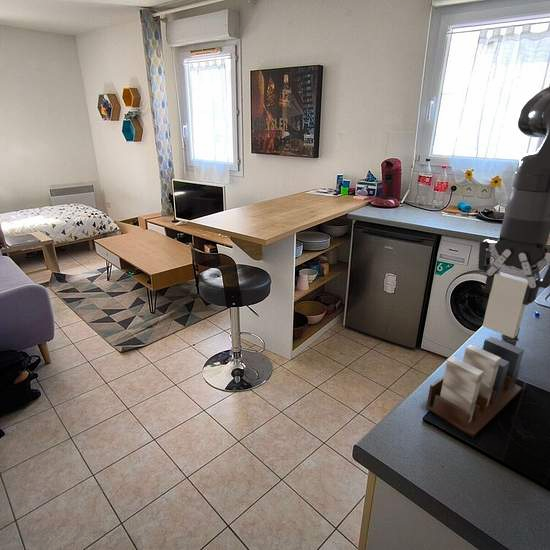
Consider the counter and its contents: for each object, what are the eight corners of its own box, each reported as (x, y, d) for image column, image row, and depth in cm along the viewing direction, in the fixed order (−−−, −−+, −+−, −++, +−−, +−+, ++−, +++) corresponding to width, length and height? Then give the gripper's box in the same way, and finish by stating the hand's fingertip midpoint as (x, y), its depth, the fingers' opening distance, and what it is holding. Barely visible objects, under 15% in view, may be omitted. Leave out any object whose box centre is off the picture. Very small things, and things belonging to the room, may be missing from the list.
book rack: (521, 390, 81) (536, 341, 76) (473, 437, 69) (487, 383, 64) (476, 368, 88) (487, 322, 83) (425, 407, 76) (434, 357, 72)
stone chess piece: (522, 367, 88) (535, 324, 83) (503, 372, 87) (515, 329, 82) (502, 354, 93) (513, 313, 89) (484, 358, 92) (494, 316, 87)
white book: (517, 335, 73) (532, 280, 68) (513, 338, 72) (528, 283, 67) (486, 323, 78) (499, 271, 73) (482, 326, 77) (494, 273, 72)
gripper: (585, 218, 62) (557, 305, 69) (497, 205, 73) (480, 281, 79) (569, 225, 58) (541, 317, 65) (478, 210, 69) (462, 290, 75)
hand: (507, 297), depth 72 cm, fingers closed on white book, 6 cm apart
